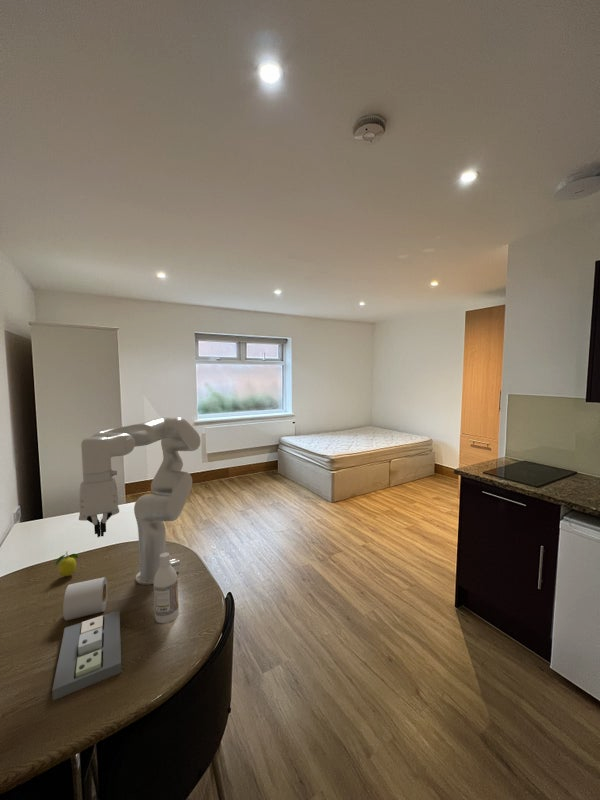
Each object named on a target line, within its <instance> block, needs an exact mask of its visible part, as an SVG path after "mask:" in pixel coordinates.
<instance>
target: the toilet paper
mask: <svg viewBox="0 0 600 800" xmlns="http://www.w3.org/2000/svg"><path fill="white" fill-rule="evenodd" d="M108 592H109V591H108V580H107V577H106V576H104V577H99V578H94V579H90V580H89V579H88V580H84V581H79V582H75V583H70V584H68V585H67V587H66V589H65V593H64V597H63V604H62V605H63V606H62V614H63V619H64V620H65V621H66V622H67V621H70V620H74V619H79V618H83V617H87V616H91V615H95V614H98V613H102V612H105V611H106V607H107V601H108Z"/></svg>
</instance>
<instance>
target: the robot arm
mask: <svg viewBox="0 0 600 800" xmlns="http://www.w3.org/2000/svg"><path fill="white" fill-rule="evenodd" d="M158 441H160V444H161V450H162V458H163V459H162V462H161V463H160V466H159V468H158V470H157V472H156V473H155V475H154V477H153V479H152V481H151V484H150V490H151V491H152V493H150V494H149V493H148V494H143V495H142V496H139V497H138V499H136V501H135V503H134V507H133V511H134V518H135V521H136V524H137V535H138V554H139V572H137V573H136V575H135V582H136V583H138V584H139V585H143V586H147V585H154V577H155V574H156V572H157V571H158V569H159V567H160V558H159V556H160V554H162V553H165V552H167V538H166V537H167V535H166V534H167V533H166V531H167V530H166V526H165V524H164V523H165V522H173V521H176V520H177V519H179V517H180V516H181V513H182V512H183V509H184V507H185V504H186V503H187V500H188V498H189V495H190V494H191V491H192V488H193V487H192V486H193V477H192V475H191V474H190V473H189V472H186V471H183V470H182V469H183V465H184V463H183V459H182V457H181V456H180V453H179V452H195V451H197V450H198V449H199V447H200V446H201V436H200V435H199V432H198V431H197V430H196V429H195V428H194V427H193V425H191V424H190V422H189V421H188V420H186V419H184V418H183V417H175V416H174V417H159V418H154V419H152V420H147V421H145V422H140V423H137V424H136V423H135V424H131V425H125V426H120V427H114V428H110V429H105V430H102V431H99V432H96V433H94V434H93V435H92V436H90V437H86V438H84V439H82V441H81V443H80V444H81V445H80V447H81V463H82V464H81V465H82V482H81V483H80V486H79V495H78V496H79V498H78V509H79V510H78V511H79V512H78V513H79V516H78V521H88V522H89V523H91V524H93V526H94V535H97V537H96V538H100V537H104V533H107V522H108V520H109V519H111V517H112V516H114V515H115V516H116V515H117V514H119V513H120V508H119V497H118V487H117V483H116V478H115V477H114V476H118V472H117V470H112V458H115V457H122V456H126V455H129V454H130V453H131V452H132V451H134V449H135V447H144V446H149V445H151V444H153V443H156V442H158ZM98 515H102V516H101V517H102V518H101V520H99V519H98V518H99V517H98ZM170 565H171V566H172V567H173V568H174V567H178V566H180V565H181V562H180V559H178V560H176V558H173V559H170Z"/></svg>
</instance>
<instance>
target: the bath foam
mask: <svg viewBox="0 0 600 800" xmlns="http://www.w3.org/2000/svg"><path fill="white" fill-rule="evenodd" d="M159 558H160V567H159V569H158V571H157V572H156V574H155V577H154V584H153V602H154V618H155V621H156V622H157V623H158V624H167V623H170V622H172V621H174V620H175V619H176V618H177V617H178V616H179V612H180V611H179V610H180V609H179V607H180V605H179V589H178V587H179V585H178V583H179V582H178V575H177V572H176V569H175V568H174V567H172V566H171V565H170V560H171V557H170V552H167V551H166V552H165V553H162V554H160V556H159Z"/></svg>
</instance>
